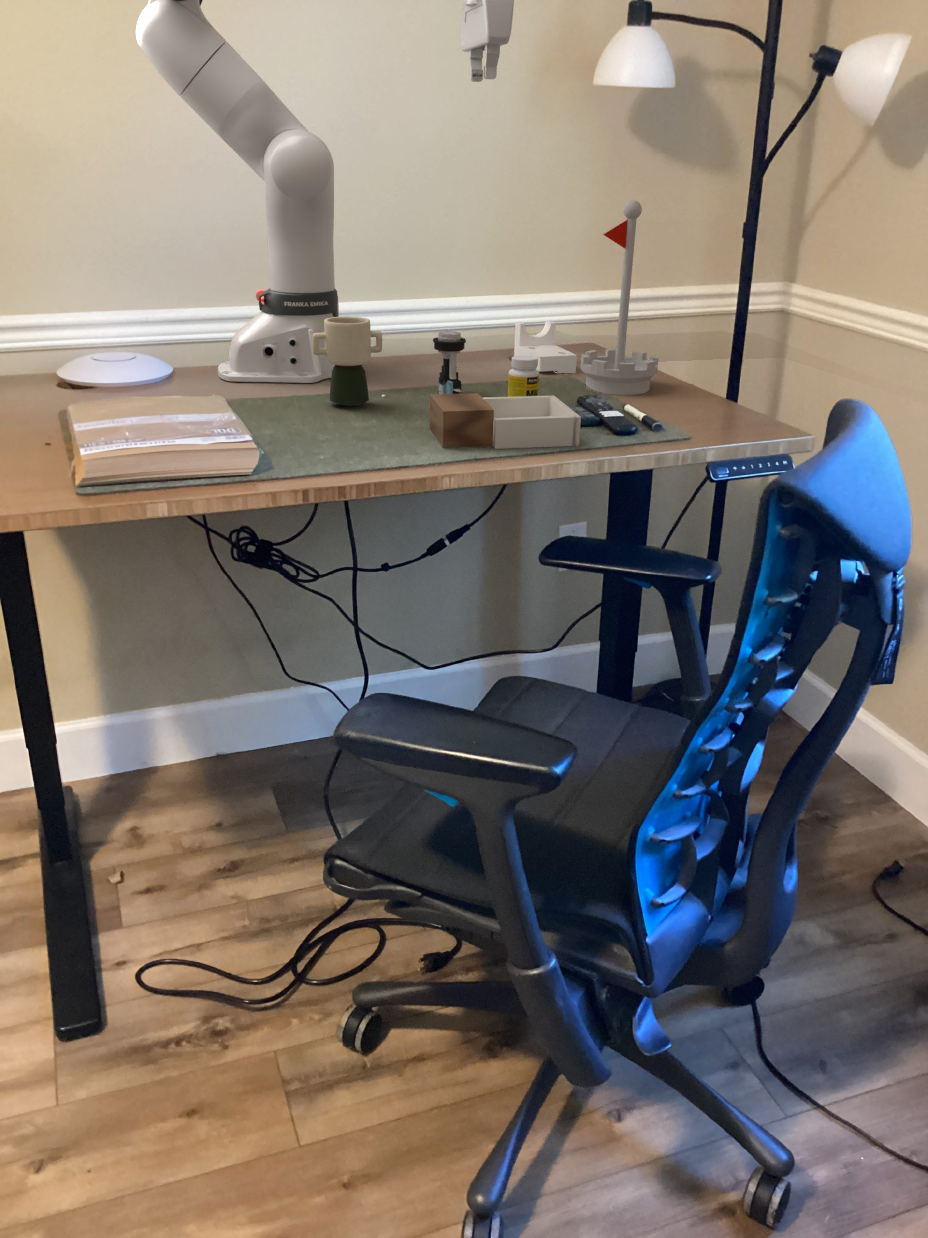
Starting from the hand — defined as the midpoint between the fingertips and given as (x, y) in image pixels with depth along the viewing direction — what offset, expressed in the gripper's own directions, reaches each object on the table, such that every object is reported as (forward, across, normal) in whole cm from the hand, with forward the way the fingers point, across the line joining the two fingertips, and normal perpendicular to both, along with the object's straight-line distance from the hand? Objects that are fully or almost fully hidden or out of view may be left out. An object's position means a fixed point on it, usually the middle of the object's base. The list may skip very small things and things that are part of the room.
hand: (483, 80), depth 166 cm
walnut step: (+47, +45, -12) cm, 66 cm away
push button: (+47, +20, -9) cm, 52 cm away
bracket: (+47, -1, +13) cm, 49 cm away
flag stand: (+47, +17, +21) cm, 54 cm away
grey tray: (+47, +45, -3) cm, 65 cm away
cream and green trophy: (+47, +24, -26) cm, 59 cm away
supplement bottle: (+47, +32, 0) cm, 57 cm away
